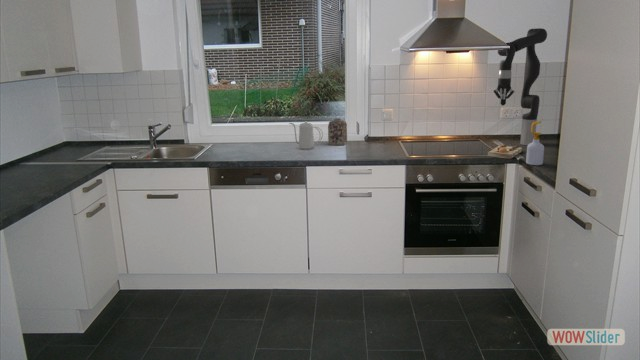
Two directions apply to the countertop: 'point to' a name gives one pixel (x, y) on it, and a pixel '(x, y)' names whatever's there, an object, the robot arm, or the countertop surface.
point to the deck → (510, 153)
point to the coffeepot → (306, 135)
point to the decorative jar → (337, 132)
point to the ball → (503, 150)
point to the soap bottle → (535, 149)
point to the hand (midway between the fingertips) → (502, 105)
